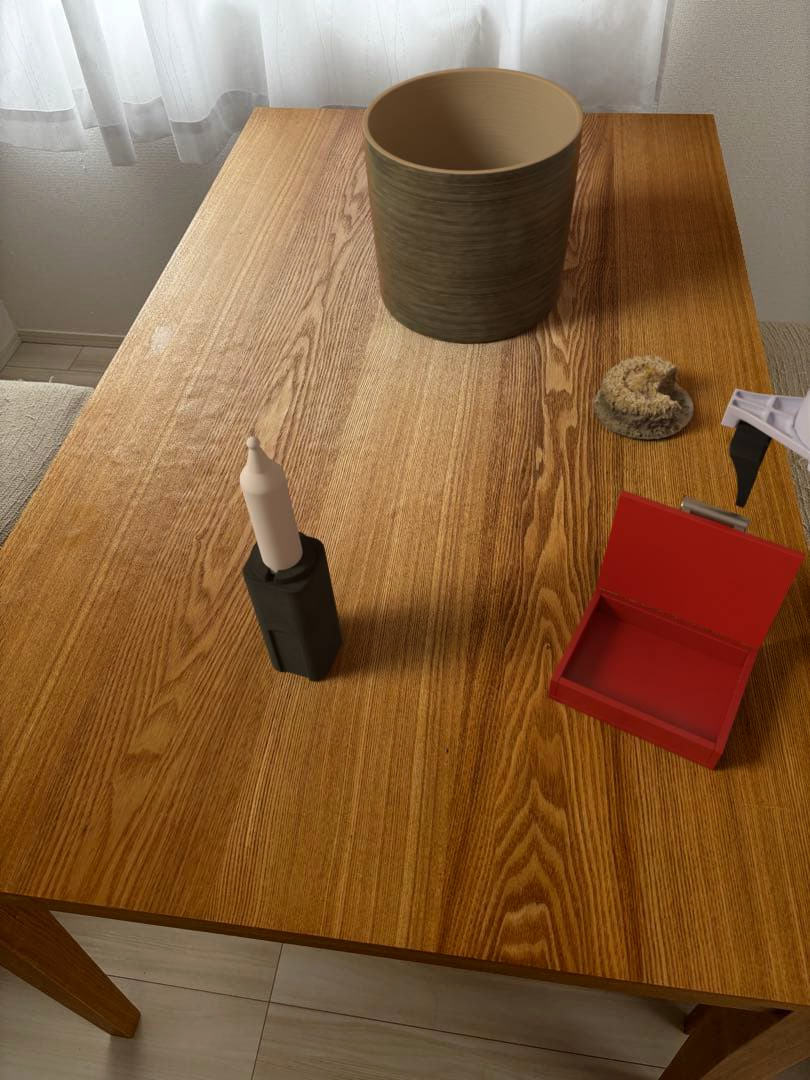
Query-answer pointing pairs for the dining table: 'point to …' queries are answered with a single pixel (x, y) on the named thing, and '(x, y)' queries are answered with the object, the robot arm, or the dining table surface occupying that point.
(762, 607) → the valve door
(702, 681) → the red box base
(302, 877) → the dining table surface
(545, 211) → the planter
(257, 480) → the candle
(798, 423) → the robot arm
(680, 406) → the cake
